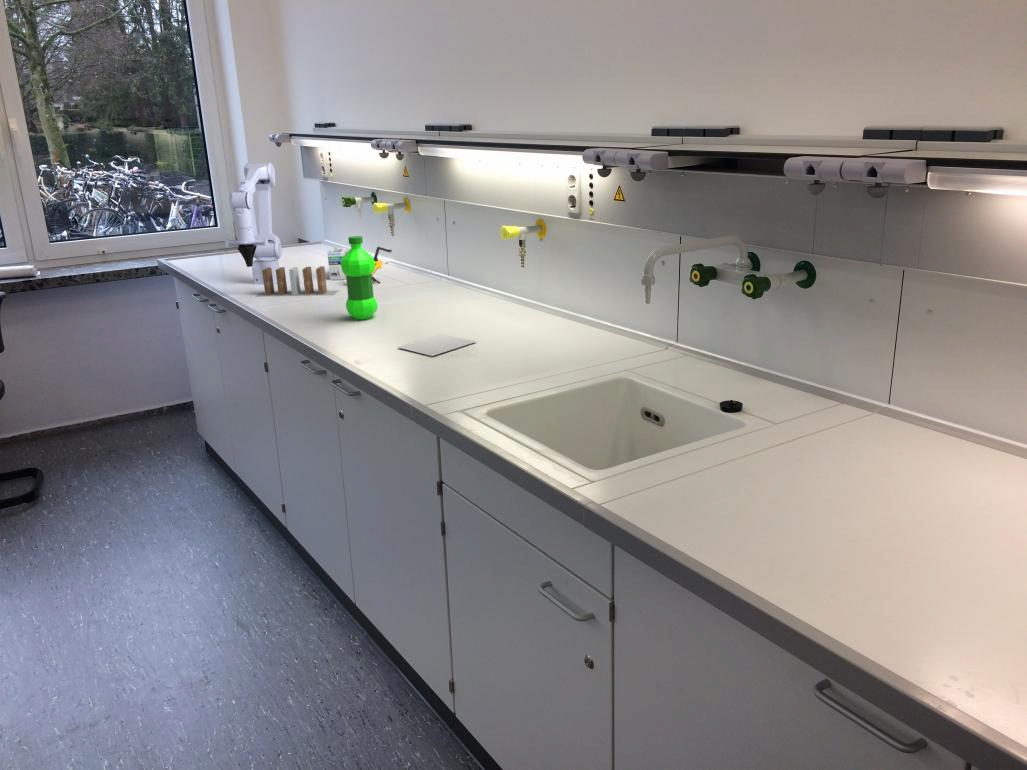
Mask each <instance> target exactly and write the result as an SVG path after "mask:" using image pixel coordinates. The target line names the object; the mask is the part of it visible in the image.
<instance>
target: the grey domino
mask: <svg viewBox="0 0 1027 770" xmlns="http://www.w3.org/2000/svg"><path fill="white" fill-rule="evenodd" d="M288 271H289V281H290V288H291V291H292V295H297V294H299V293H300V292H301V291H302V290H301V285H300V283H301V281H300V275H299V267H298V266H292V267H291V268H289V269H288Z"/></svg>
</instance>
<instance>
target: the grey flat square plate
mask: <svg viewBox="0 0 1027 770" xmlns="http://www.w3.org/2000/svg"><path fill="white" fill-rule="evenodd" d="M477 342H478V341H476V340H471V339H468V338H467V339H466V338H463V337H462V338H461V337H458V336H453V335H448V334H444V333H440V334H436V335H434V336H430V337H427V338H424V339H420V340H417V341H414V342H413V341H412V342H410V343H407V344H403V345H400V346H397V348H398V349H401V350H402V349H403V350H407V351H411V352H414V353H417V354H418V353H419V354H421V355H422V354H423V355H426V356H430V357H434V356H437V355H440V354H444V353H446V352H449V351H452V350H455V349H456V350H457V349H459V348H462V347H466V346H467V345H471V344H474V343H477Z"/></svg>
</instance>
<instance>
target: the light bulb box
mask: <svg viewBox="0 0 1027 770" xmlns="http://www.w3.org/2000/svg"><path fill="white" fill-rule="evenodd" d="M349 250H350V249H349V247H331V248H330V249H329V250H328V251H327V260H328V262H327V263H328V269H329V279H330V281H339V280H340V281H344V280H345V281H346V276H345V274H344V273H343V271H342V268H341V259H342V257H343V256H344V255H345V254H346V253H347V252H348V251H349Z"/></svg>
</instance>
